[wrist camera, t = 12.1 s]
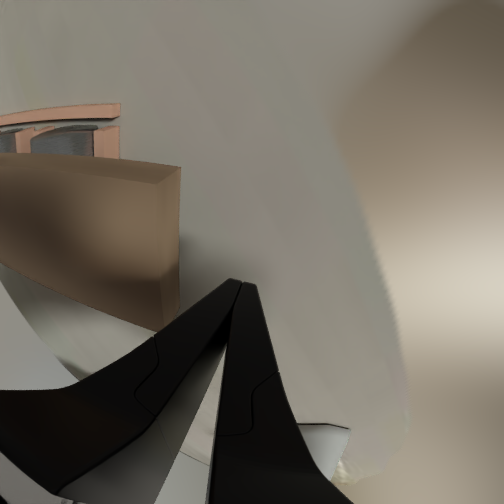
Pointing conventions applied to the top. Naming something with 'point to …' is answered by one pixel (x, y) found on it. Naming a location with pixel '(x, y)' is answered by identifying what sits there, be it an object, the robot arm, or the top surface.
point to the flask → (325, 445)
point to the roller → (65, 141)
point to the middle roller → (8, 141)
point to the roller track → (103, 138)
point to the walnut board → (95, 231)
